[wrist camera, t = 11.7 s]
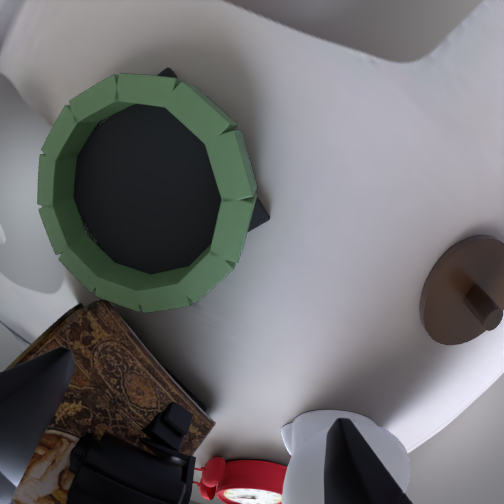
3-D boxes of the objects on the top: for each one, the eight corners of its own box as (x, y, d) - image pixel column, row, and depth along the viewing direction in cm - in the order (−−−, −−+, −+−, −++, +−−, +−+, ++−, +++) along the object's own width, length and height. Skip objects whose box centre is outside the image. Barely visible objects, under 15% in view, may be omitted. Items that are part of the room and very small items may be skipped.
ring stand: (431, 356, 21) (447, 389, 17) (404, 273, 18) (426, 305, 15) (512, 304, 18) (536, 328, 15) (501, 213, 16) (534, 231, 12)
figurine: (331, 376, 22) (346, 552, 9) (417, 406, 24) (452, 534, 10) (264, 437, 27) (248, 567, 13) (347, 458, 28) (354, 567, 14)
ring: (130, 321, 22) (117, 339, 19) (32, 167, 17) (10, 173, 15) (302, 236, 18) (304, 251, 15) (177, 32, 14) (162, 21, 11)
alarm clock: (290, 512, 29) (180, 514, 26) (283, 477, 35) (180, 477, 32) (318, 489, 25) (182, 494, 22) (306, 447, 31) (182, 447, 28)
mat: (141, 293, 21) (138, 297, 21) (59, 172, 18) (54, 174, 18) (270, 216, 18) (270, 219, 17) (171, 68, 15) (167, 66, 14)
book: (223, 429, 24) (80, 595, 7) (188, 417, 28) (60, 563, 10) (104, 291, 20) (-87, 491, 2) (84, 296, 23) (-78, 462, 6)
